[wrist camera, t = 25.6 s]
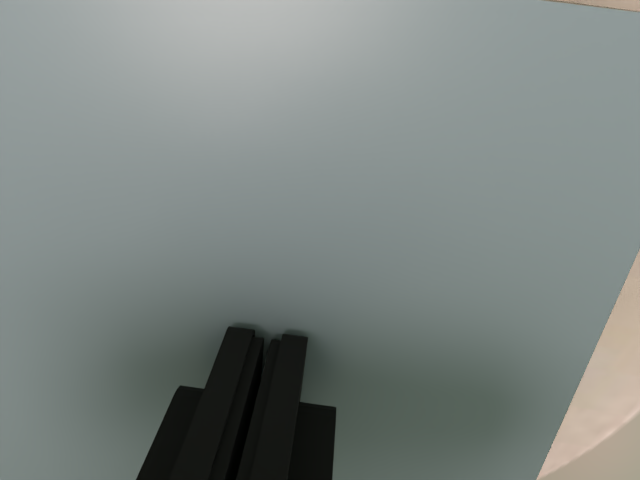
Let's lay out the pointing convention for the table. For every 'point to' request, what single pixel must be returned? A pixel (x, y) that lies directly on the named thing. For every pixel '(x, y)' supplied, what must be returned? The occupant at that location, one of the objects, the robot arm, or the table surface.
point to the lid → (312, 219)
